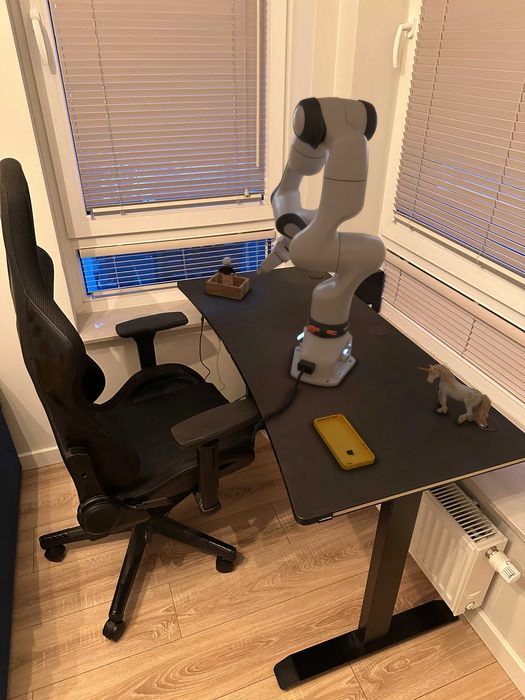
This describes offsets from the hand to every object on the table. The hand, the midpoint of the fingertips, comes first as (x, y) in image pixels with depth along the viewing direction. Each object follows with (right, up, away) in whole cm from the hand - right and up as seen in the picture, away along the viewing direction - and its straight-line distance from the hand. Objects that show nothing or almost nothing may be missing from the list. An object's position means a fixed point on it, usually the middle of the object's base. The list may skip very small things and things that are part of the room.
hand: (261, 267), depth 180 cm
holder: (-13, -7, +10) cm, 18 cm away
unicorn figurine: (+47, -47, -50) cm, 84 cm away
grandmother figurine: (-13, -6, +11) cm, 18 cm away
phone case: (+20, -52, -59) cm, 81 cm away
